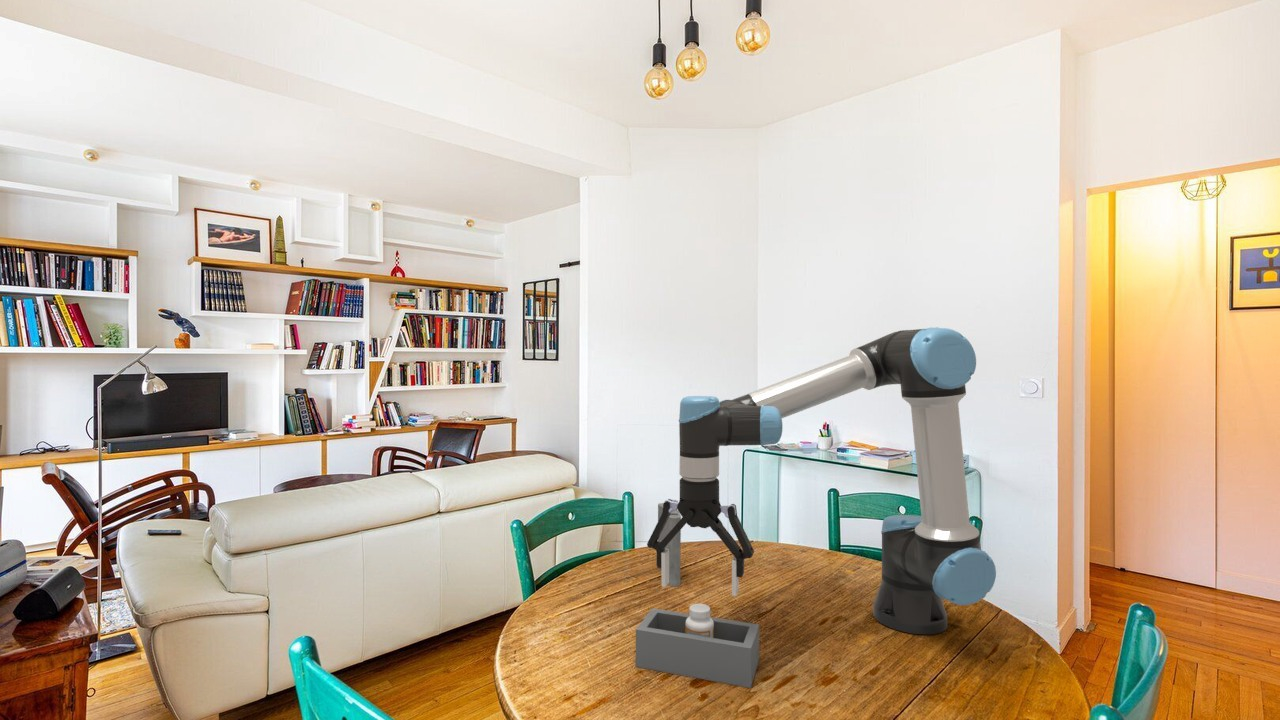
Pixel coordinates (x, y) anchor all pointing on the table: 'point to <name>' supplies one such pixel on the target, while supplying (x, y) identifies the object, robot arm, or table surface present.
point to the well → (698, 648)
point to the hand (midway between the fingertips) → (699, 589)
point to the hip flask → (672, 545)
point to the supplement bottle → (699, 621)
